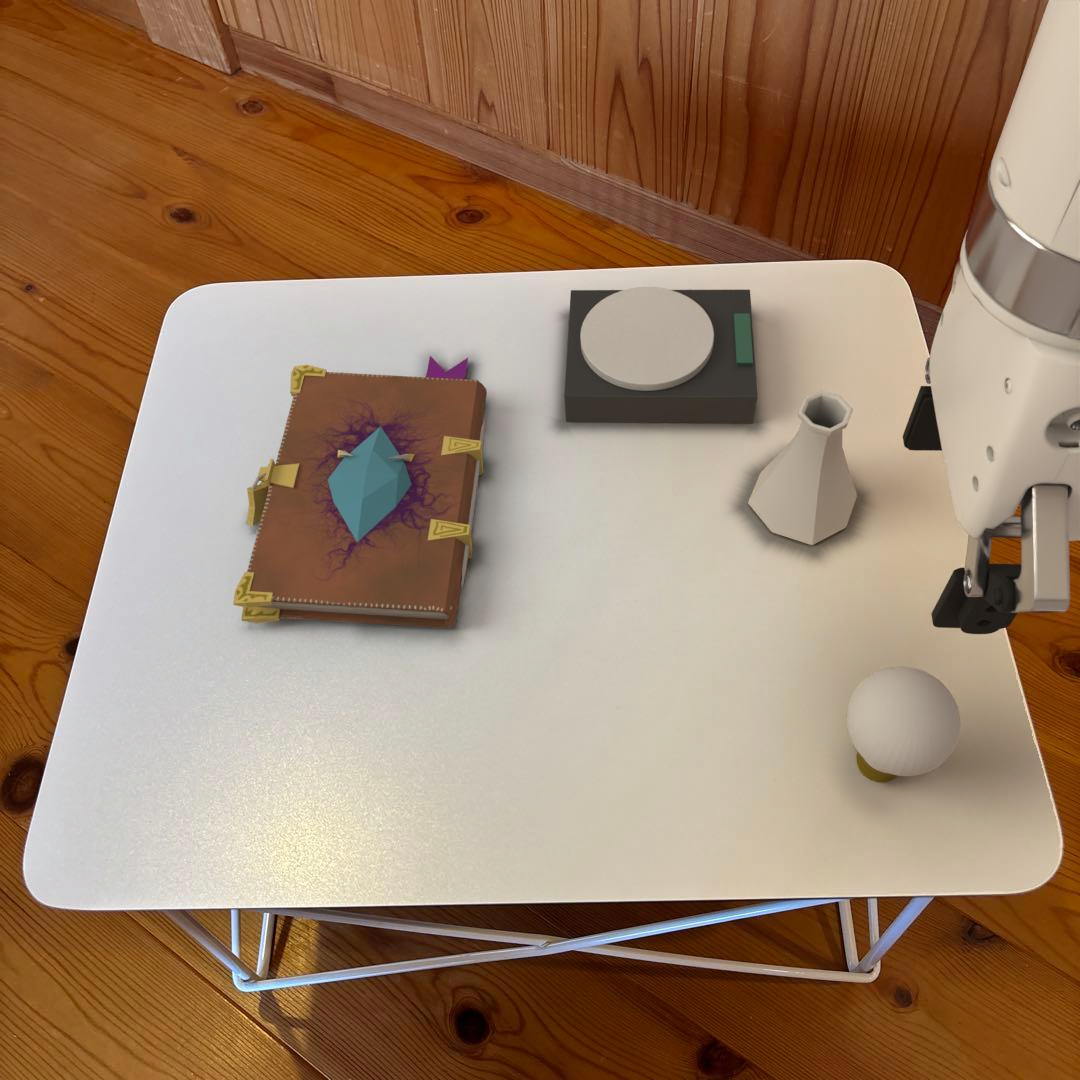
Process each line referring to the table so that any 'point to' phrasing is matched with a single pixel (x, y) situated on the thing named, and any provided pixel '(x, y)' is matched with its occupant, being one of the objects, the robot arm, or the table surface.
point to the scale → (660, 356)
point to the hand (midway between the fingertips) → (950, 528)
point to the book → (368, 500)
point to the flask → (809, 476)
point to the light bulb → (902, 723)
